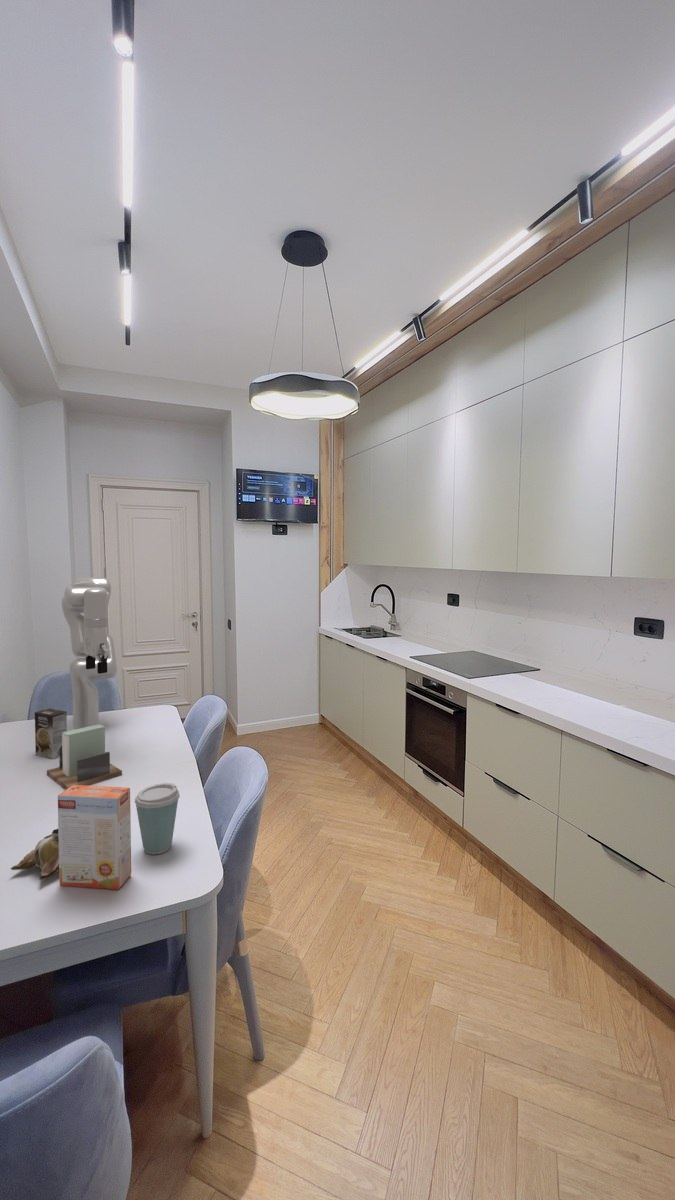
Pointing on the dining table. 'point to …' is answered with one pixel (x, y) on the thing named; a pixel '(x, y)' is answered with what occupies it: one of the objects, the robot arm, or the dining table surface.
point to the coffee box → (49, 732)
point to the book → (81, 746)
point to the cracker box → (94, 836)
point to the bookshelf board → (86, 771)
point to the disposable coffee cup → (157, 816)
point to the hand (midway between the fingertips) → (96, 670)
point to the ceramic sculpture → (43, 856)
